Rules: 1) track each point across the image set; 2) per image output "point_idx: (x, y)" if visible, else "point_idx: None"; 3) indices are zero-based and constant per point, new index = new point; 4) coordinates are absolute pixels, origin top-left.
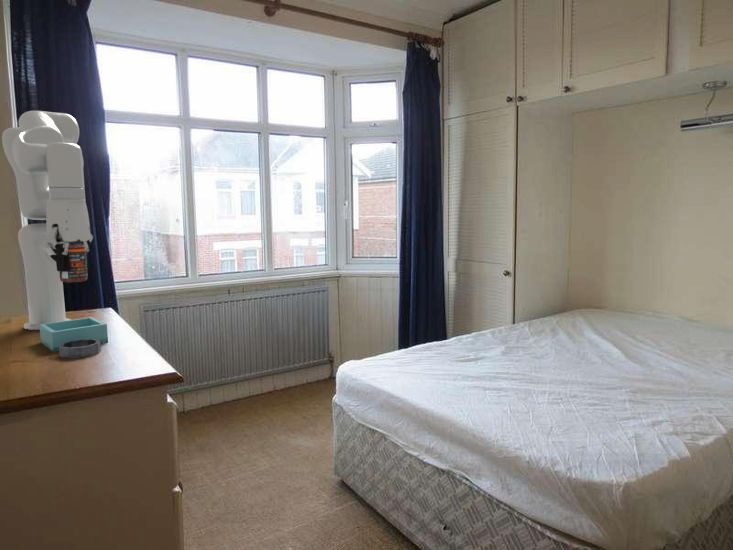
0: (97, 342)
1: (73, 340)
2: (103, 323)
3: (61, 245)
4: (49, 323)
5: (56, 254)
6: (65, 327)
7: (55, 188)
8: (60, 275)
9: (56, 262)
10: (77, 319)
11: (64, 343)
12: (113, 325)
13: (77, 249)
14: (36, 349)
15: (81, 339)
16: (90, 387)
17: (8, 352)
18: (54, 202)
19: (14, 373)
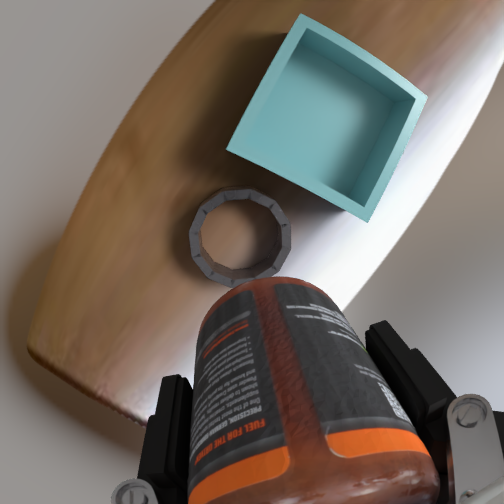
0: (264, 277)
1: (260, 193)
2: (372, 206)
3: None
4: (321, 32)
5: (132, 493)
6: (352, 62)
7: None
8: (199, 342)
9: (155, 420)
10: (392, 76)
11: (225, 199)
12: (469, 92)
13: None
14: (228, 82)
15: (277, 206)
16: (109, 406)
17: (182, 43)
18: None
19: (75, 236)
